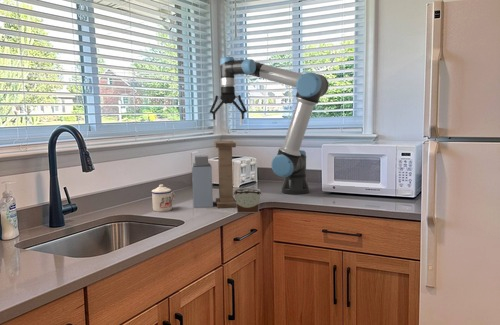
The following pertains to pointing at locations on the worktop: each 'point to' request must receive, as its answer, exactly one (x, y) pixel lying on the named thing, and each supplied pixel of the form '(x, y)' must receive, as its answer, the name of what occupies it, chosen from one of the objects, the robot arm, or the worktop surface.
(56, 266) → the worktop surface
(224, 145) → the stand
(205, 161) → the handle
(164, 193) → the teacup with lid
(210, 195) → the blue-grey tall block
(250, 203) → the food container
